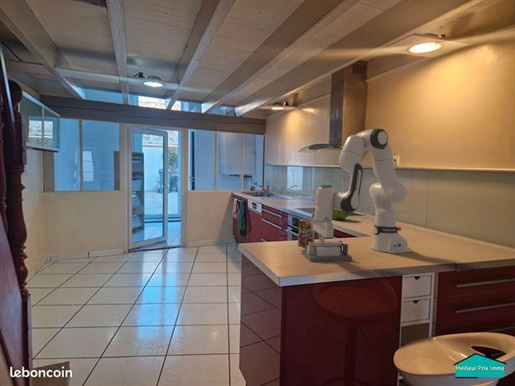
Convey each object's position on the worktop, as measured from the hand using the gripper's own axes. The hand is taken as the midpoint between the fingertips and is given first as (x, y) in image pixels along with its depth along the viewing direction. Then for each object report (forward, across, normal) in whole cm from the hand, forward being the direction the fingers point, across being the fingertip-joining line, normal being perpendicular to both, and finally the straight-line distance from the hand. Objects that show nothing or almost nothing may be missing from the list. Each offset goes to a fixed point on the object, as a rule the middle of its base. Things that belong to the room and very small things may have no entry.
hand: (321, 242), depth 165 cm
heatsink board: (+8, 0, -3) cm, 8 cm away
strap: (+1, 0, -2) cm, 2 cm away
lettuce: (+6, +120, -62) cm, 135 cm away
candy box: (+8, +23, 0) cm, 24 cm away
